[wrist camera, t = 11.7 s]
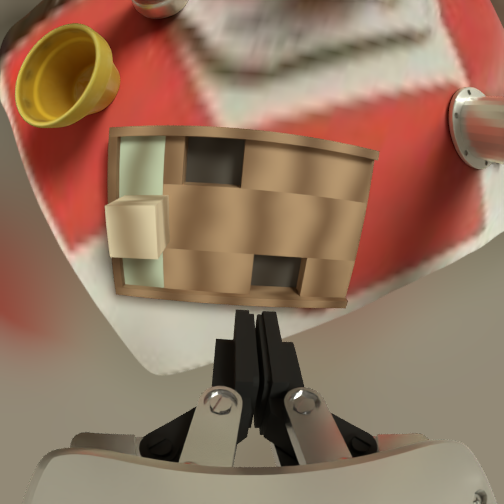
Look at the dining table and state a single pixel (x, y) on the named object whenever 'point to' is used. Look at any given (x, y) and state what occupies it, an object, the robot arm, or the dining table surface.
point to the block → (138, 226)
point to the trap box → (244, 214)
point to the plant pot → (66, 77)
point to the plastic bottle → (158, 7)
